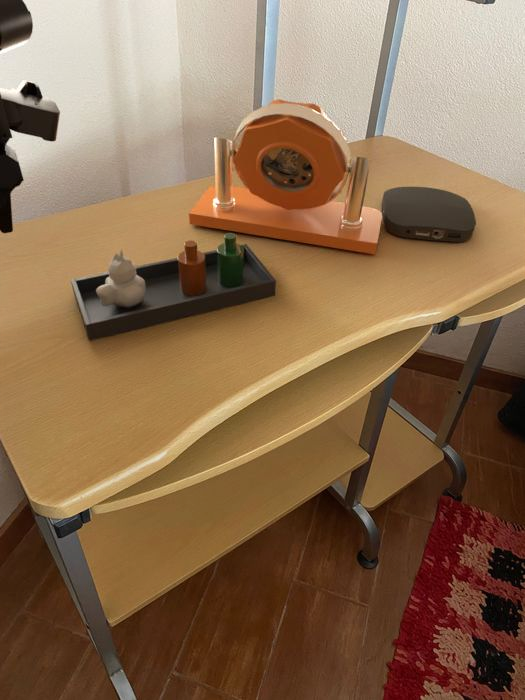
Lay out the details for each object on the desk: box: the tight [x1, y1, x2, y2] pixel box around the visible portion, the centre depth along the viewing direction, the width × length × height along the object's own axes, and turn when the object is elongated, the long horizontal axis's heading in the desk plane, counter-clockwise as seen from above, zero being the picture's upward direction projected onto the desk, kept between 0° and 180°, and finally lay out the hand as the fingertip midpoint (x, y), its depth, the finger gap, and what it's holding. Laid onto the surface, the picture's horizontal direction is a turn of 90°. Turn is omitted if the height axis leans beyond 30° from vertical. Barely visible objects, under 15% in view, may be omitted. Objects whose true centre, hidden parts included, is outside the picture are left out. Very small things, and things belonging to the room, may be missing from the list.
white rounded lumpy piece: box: [96, 248, 146, 308], centre depth 66 cm, size 5×7×8 cm
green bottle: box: [216, 232, 244, 287], centre depth 72 cm, size 4×4×7 cm
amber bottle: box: [177, 240, 206, 296], centre depth 70 cm, size 4×4×7 cm
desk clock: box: [188, 98, 383, 255], centre depth 80 cm, size 12×30×20 cm, turn 76°
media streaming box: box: [381, 186, 477, 243], centre depth 89 cm, size 15×15×3 cm
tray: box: [70, 243, 277, 342], centre depth 71 cm, size 25×10×2 cm, turn 115°
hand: (4, 213), depth 62 cm, fingers open, 9 cm apart
